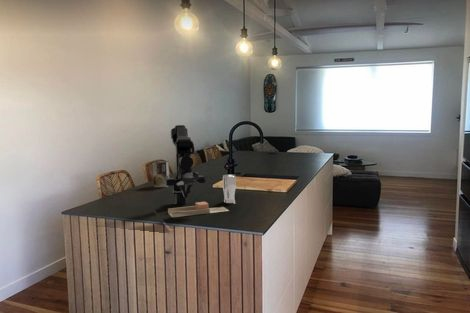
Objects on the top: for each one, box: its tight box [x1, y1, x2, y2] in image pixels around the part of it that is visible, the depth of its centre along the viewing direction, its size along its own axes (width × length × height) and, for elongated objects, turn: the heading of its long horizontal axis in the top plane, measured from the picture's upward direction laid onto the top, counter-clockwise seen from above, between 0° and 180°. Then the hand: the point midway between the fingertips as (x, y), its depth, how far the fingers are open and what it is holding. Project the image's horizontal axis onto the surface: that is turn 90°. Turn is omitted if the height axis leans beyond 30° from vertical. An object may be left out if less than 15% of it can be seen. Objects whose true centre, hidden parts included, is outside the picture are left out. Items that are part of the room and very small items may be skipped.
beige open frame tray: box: [167, 205, 230, 218], centre depth 186 cm, size 8×28×3 cm, turn 113°
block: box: [194, 201, 210, 210], centre depth 186 cm, size 5×5×4 cm
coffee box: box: [152, 160, 170, 188], centre depth 252 cm, size 9×6×16 cm
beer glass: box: [222, 174, 237, 204], centre depth 205 cm, size 7×7×15 cm
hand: (185, 198), depth 183 cm, fingers closed
